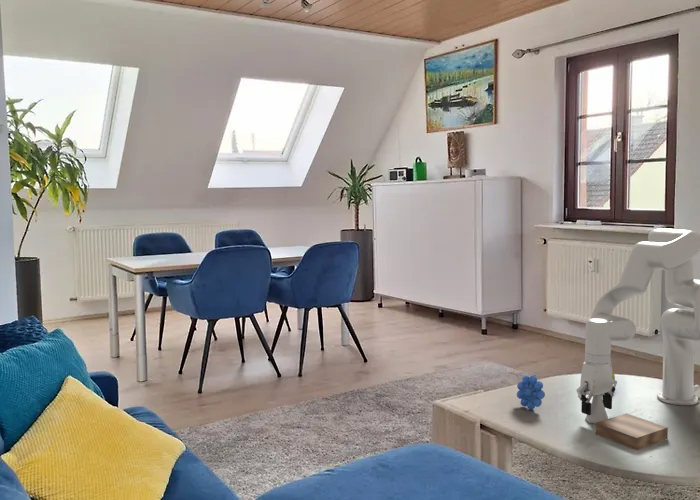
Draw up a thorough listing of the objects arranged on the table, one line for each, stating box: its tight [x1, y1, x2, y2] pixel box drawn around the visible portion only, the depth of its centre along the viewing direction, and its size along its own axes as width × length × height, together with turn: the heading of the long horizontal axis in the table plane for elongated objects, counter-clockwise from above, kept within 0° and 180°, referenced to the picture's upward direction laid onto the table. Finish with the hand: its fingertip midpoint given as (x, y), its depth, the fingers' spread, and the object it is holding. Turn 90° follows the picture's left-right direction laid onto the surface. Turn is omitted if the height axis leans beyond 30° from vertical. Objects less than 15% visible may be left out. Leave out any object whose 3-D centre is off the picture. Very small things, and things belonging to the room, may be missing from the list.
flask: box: [584, 394, 609, 425], centre depth 207 cm, size 7×7×10 cm
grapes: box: [516, 375, 546, 411], centre depth 218 cm, size 12×7×12 cm, turn 32°
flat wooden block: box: [595, 413, 669, 451], centre depth 194 cm, size 14×14×4 cm
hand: (596, 410), depth 207 cm, fingers open, 9 cm apart
